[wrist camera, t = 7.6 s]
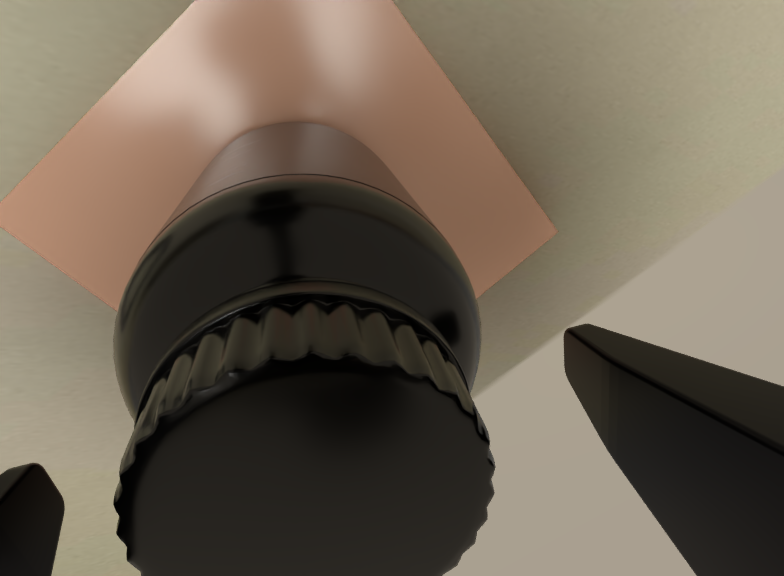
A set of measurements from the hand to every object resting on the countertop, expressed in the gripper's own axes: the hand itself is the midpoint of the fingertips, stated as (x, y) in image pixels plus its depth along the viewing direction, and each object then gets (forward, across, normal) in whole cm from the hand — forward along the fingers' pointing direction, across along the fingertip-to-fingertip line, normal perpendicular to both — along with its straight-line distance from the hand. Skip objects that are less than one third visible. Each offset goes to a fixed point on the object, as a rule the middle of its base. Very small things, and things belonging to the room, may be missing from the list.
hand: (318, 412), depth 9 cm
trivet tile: (+10, 0, 0) cm, 10 cm away
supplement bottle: (+10, 0, 0) cm, 10 cm away
